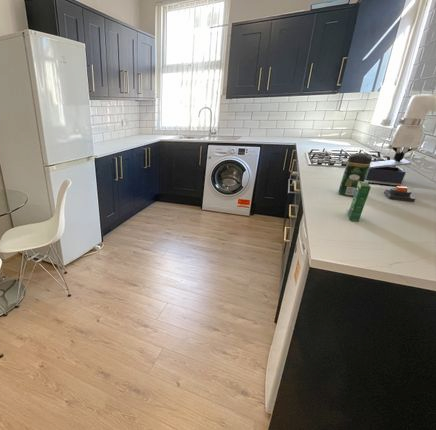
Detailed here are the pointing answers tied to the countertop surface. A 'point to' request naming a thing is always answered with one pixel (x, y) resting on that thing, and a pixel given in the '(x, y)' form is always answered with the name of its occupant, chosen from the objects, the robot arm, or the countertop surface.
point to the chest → (385, 175)
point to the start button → (401, 188)
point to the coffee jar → (354, 173)
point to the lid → (388, 163)
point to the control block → (399, 195)
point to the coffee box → (359, 200)
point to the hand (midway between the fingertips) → (397, 161)
